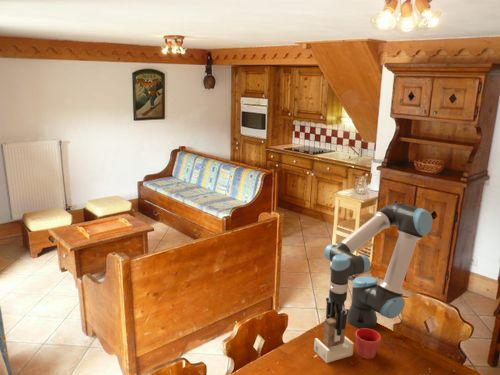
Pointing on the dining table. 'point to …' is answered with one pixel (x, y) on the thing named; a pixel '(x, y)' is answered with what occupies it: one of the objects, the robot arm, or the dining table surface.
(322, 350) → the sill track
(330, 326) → the walnut panel
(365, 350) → the flower pot
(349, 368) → the dining table surface
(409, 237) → the robot arm
